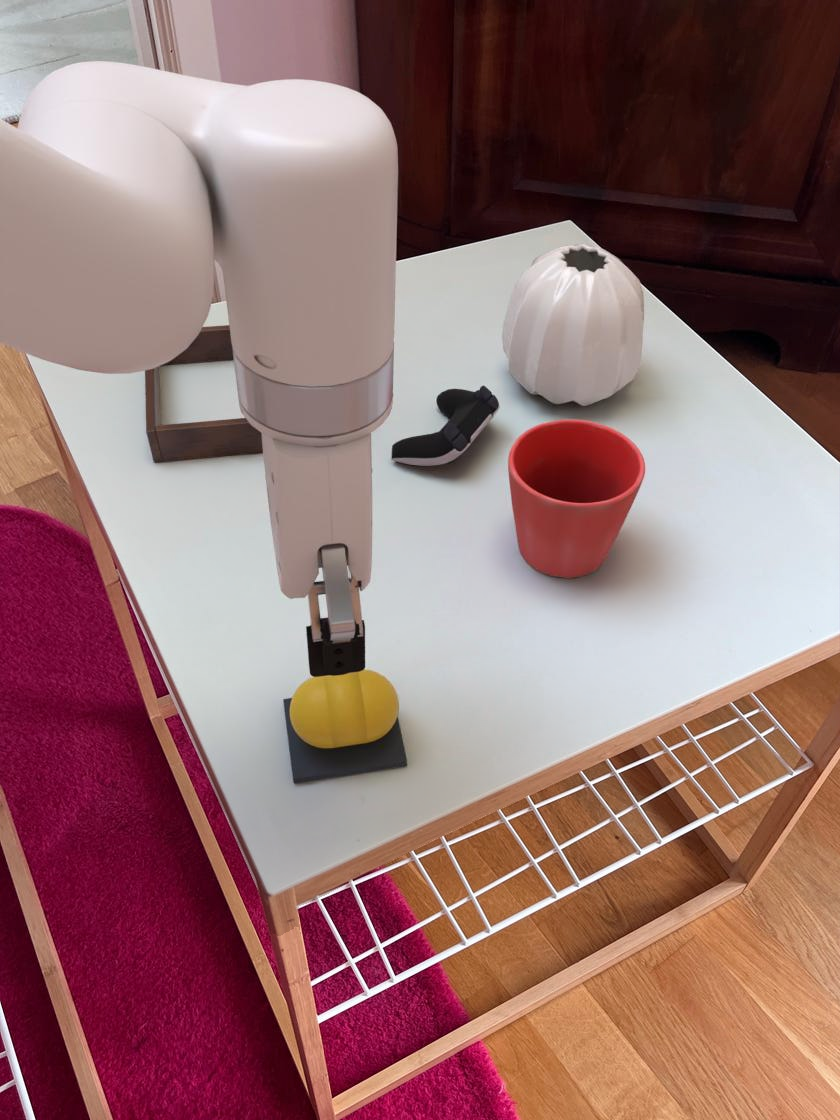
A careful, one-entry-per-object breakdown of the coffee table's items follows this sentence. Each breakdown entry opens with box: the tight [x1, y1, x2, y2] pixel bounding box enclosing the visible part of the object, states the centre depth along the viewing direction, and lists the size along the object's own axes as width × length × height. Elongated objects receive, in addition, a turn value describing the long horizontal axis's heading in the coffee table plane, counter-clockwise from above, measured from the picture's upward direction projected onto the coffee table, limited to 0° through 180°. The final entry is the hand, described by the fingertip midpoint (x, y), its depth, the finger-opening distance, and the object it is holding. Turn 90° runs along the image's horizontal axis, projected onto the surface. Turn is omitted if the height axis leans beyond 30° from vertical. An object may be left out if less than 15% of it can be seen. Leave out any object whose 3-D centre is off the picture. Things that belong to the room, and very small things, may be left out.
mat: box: [282, 697, 408, 784], centre depth 71 cm, size 8×7×1 cm
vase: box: [501, 243, 645, 407], centre depth 95 cm, size 14×14×13 cm
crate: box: [144, 324, 263, 463], centre depth 93 cm, size 18×16×4 cm
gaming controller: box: [391, 385, 501, 467], centre depth 91 cm, size 11×4×7 cm
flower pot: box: [507, 419, 646, 579], centre depth 81 cm, size 11×11×10 cm
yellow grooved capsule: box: [290, 668, 400, 748], centre depth 69 cm, size 8×5×5 cm
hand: (326, 608), depth 60 cm, fingers open, 9 cm apart
